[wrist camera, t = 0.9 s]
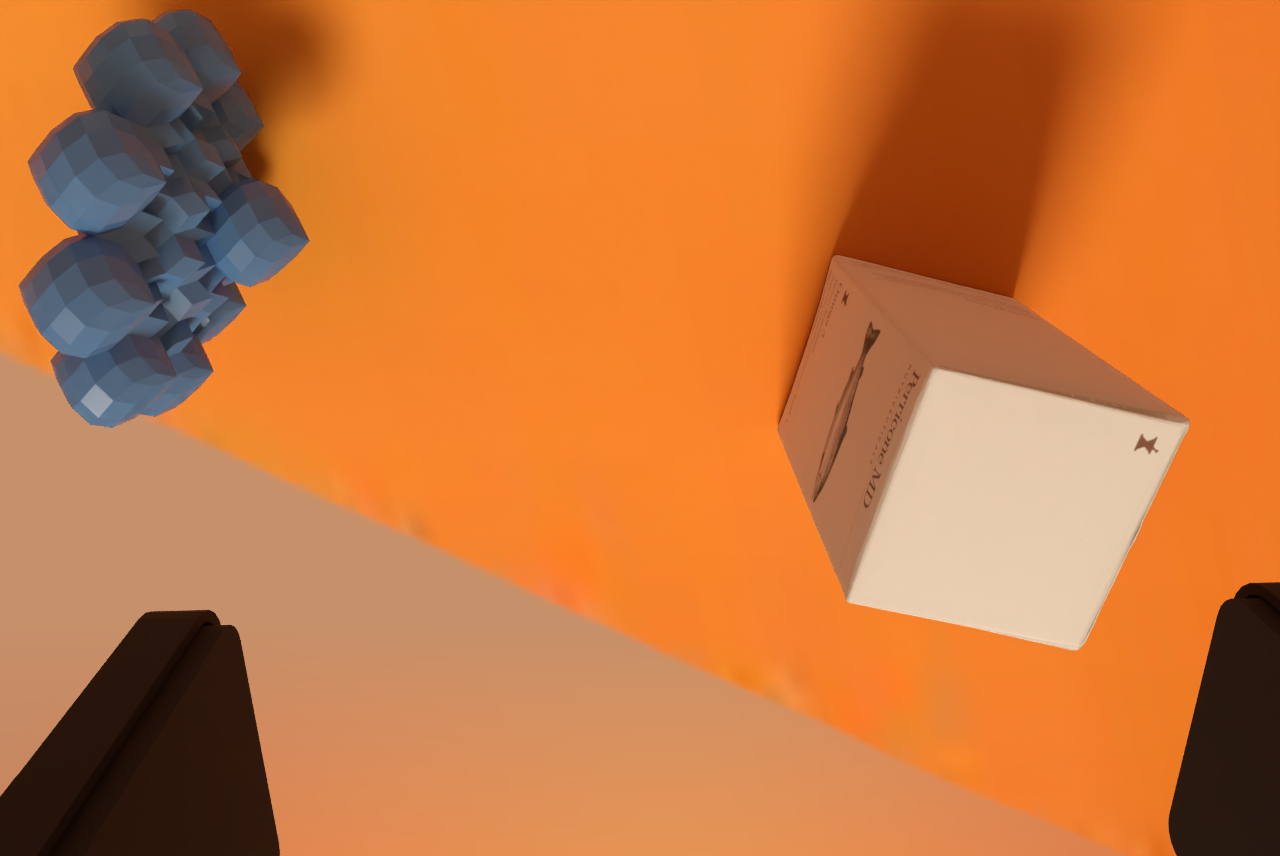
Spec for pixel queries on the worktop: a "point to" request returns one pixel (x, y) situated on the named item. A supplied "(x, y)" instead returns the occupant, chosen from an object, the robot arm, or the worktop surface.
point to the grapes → (152, 218)
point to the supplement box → (969, 455)
